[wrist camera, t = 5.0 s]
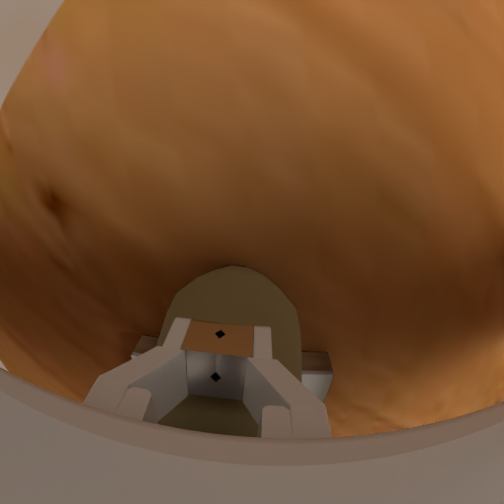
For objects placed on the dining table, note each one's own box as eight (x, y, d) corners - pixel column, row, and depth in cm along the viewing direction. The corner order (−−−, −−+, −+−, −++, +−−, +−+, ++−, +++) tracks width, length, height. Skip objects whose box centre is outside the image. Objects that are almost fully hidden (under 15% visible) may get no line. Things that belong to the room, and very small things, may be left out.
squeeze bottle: (243, 363, 22) (225, 592, 5) (159, 304, 20) (45, 539, 4) (318, 298, 20) (393, 575, 3) (228, 222, 18) (108, 580, 1)
